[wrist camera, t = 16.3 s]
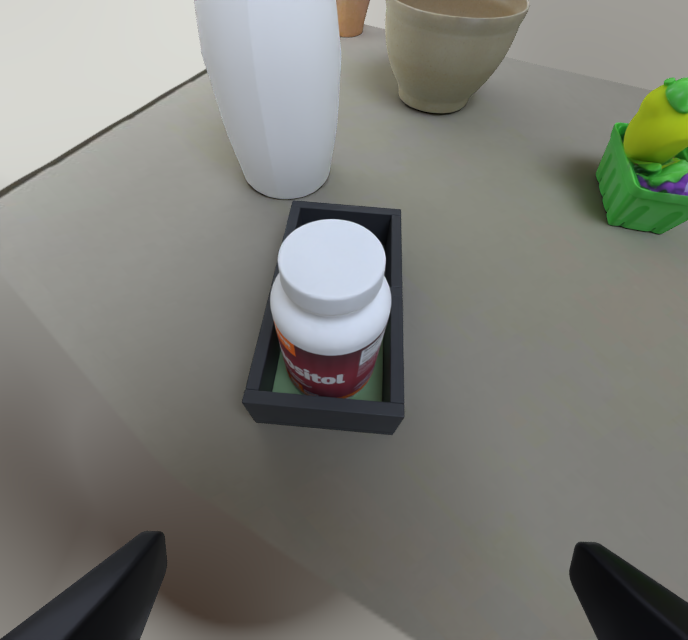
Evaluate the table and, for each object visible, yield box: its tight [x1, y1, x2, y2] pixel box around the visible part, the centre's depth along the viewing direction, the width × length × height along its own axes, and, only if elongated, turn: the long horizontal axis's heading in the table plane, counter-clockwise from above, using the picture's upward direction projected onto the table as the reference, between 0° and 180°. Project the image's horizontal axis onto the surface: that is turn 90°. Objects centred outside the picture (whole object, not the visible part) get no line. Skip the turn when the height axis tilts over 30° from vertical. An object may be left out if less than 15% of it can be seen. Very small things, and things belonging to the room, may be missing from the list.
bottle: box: [194, 0, 342, 199], centre depth 25 cm, size 11×11×25 cm
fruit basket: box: [596, 78, 688, 234], centre depth 31 cm, size 11×9×11 cm
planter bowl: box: [385, 0, 530, 113], centre depth 42 cm, size 16×16×11 cm
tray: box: [242, 201, 404, 435], centre depth 25 cm, size 17×9×4 cm, turn 175°
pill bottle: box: [270, 219, 391, 399], centre depth 19 cm, size 6×6×11 cm
